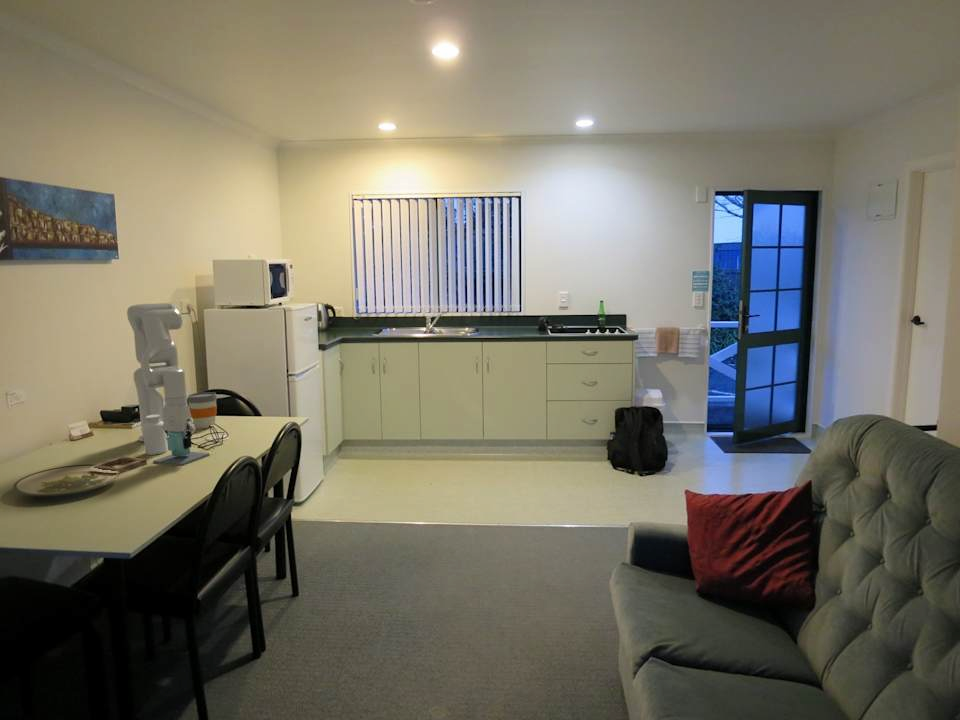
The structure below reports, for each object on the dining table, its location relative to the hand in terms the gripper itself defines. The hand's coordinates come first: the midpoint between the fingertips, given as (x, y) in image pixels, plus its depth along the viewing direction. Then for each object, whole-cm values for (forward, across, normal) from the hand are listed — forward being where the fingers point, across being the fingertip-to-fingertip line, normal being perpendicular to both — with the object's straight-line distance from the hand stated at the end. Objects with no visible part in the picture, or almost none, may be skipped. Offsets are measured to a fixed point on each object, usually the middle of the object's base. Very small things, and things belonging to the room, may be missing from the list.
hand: (180, 446), depth 247 cm
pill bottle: (+5, -18, +5) cm, 19 cm away
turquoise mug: (+3, 0, -1) cm, 3 cm away
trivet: (+5, 0, 0) cm, 5 cm away
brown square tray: (+5, -15, -15) cm, 22 cm away
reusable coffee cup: (+5, -32, +46) cm, 56 cm away
